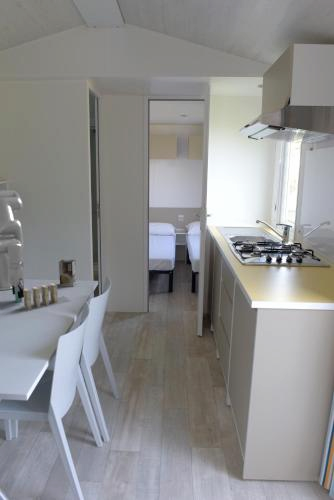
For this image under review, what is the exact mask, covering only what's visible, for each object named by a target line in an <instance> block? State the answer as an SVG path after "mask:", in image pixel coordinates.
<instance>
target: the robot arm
mask: <svg viewBox="0 0 334 500" xmlns="http://www.w3.org/2000/svg"><path fill="white" fill-rule="evenodd" d="M23 207H24V206H23V200H22V199H21V196H20V195H19V193H18V192H17V191H16V190H13V189H12V190H11V189H9V190H6V189H5V190H0V236H4V237H0V291H7V290H8V291H9V290H12V291H11V292H12V295H13V296H15V287H17V288H18V298H22V299H24V292H23V289H25V277H24V270H23V269H24V268H25V267H24V255H23V254H24V252H23V250H24V246H25V243H24V236H23V227H22V223H21V221H20V220H19V219H17V218H15V216H14V215H15V214H14V212H15V213H16V212H22V211H23ZM10 235H11V236H10ZM12 235H13V236H12ZM5 236H6V237H5ZM18 285H19V286H18ZM14 286H15V287H14ZM19 287H20V289H19Z"/></svg>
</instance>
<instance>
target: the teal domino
mask: <svg viewBox="0 0 334 500" xmlns="http://www.w3.org/2000/svg"><path fill="white" fill-rule="evenodd" d="M18 286H19V285H18ZM14 287H15V286H14ZM19 289H20V287H19ZM14 297H15V298H14V299H15V301H16V302H17V303H19V304H21V303H23V298H18V288H17V287H15V294H14Z"/></svg>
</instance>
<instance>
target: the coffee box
mask: <svg viewBox="0 0 334 500" xmlns="http://www.w3.org/2000/svg"><path fill="white" fill-rule="evenodd" d="M76 266H77V265H76V259H61V260H60V261H58V271H59V272H58V274H59V286H60V287H75V285H77V273H76V272H77V270H76Z"/></svg>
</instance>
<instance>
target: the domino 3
mask: <svg viewBox="0 0 334 500" xmlns="http://www.w3.org/2000/svg"><path fill="white" fill-rule="evenodd" d="M49 292H50V289H49V286H47V285H45V284H43V285H41V302H42V303H43V304H45V305H49V300H50V293H49Z"/></svg>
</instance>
